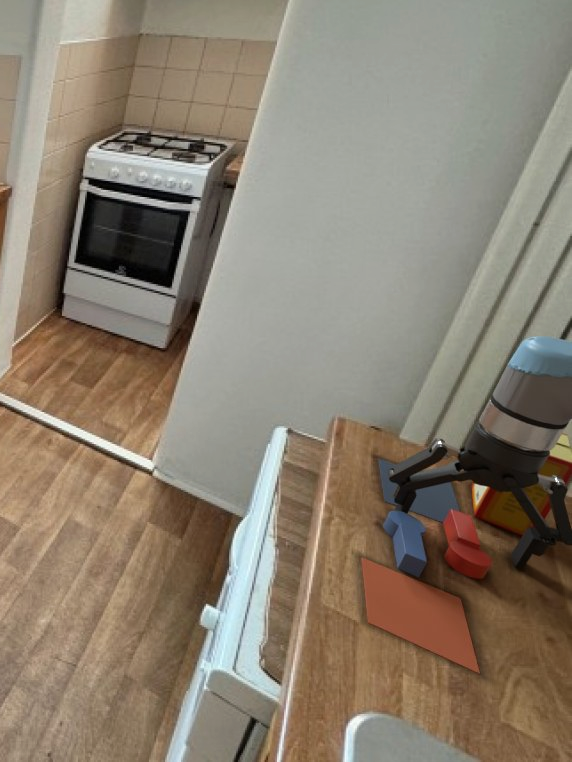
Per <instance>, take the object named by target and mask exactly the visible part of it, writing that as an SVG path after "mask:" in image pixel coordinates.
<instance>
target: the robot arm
mask: <svg viewBox="0 0 572 762" xmlns="http://www.w3.org/2000/svg"><path fill="white" fill-rule="evenodd" d="M478 420H479V422H477V423H476V424H475V426H474V428H473V430H472V431H471V434H470V435H469V437H468V439H467V441H466V443H465V445H464V446H462V447H460V448H458V447H455V446H452V445H450V444H447V443H446V442H445V440H444V439H443V438H439V437H438V438H437V437H436V438H435V439H434V440H433V441H432V442H431V444H430V445H429V446H428V447H427V448H425V449H423V450H421V451H419V452H417V453H415V454H413V455H411V456H410V457H408V458H406V459H404V460H402V461H400V462H397V463H395V464H396V465H394V466H392V467H390V468H389V469H388V476H389V480H390V481H391V482H393V483H396V484H398V486H397V488H396V490H395V492H394V494H393V496H394V501H395V503H397V504H398V505H397V506H395V508H394V511H401V512H404V513H407V514H409V512H410V511H409V509H410V508H411V506H412V504H413V502H414V500H415V498H416V496H417V495H416V491H415V490H418V489H422V488H426V487H431V486H435V485H440V484H444V483H448V482H449V483H453V482H458V483H461V482H462V483H463V482H467V481H471V482H472V483H475V484H478V485H481V486H487V487H490V488H492V489H493V490H495V491H498V492H501V493H502V492H512V494H513V495H514V497H515V499H516V500H517V501H518V502H519V504H520V505H521V507H522V508H523V510H524V511H525V513H526V514H527V516H528V517H529V519H530V521H531V522H532V524H533V525H534V527H535V528H536V529H535V528H533V527H530V526H528V528H527V529H526V531H525V533H524V534H523V536H522V535H521V537H520V539H519V540H518V542H517V544H516V546H515V547H514V549H513V550H512V552H511V554H510V559H511V562H512V564H513V568H514V569H517V570H519V571H523V569H524V568H525V567H526V566H527V563H528V562H529V560H530V559H531V557H532V556H533V555H535V556H537V557H541V556H543V555H544V554H545V553H546V550H547V549H548V548H549V546H550V547H554V546H556V545H557V542H559V543H563V544H564V545H566V546H572V525H571V521H570V517H569V514H568V513H569V512H568V509H567V506H566V503H565V498H566V496H567V493H568V487H567V484H566V485H565V483H564V481H563V479H562V478H561V477H560V476H557V475H552V476H550V477H547V476H543V475H539V474H538V472H539V471H540V470H541V468H542V466H543V465H544V463H545V461H546V460H547V458H548V456H549V455H550V451H549V450H552V449H553V448H554V447H555V445H556V443H557V442H558V440H559V438H560V436H561V435H562V433H563V434H564V431H565V429H566V428H567V427H568V425H569V423H570V421H571V420H572V341H570V340H566V339H562V338H558V337H552V336H546V335H545V336H544V335H543V336H542V335H539V336H538V335H537V336H531V337H528V338H525V339H524V340H522V341H521V343H520V344H519V346H518V347H517V349H516V351H515V352H514V354H513V355H512V357H511V359H510V360H509V362H508V363H507V365H506V367H505V369H504V371H503V373H502V375H501V376H500V379H499V381H498V383H497V385H496V386H495V388H494V391H493V393H492V395H491V397H490V398H489V400H488V402H487V404H486V406H485V408H484V410H483V411H482V413H481V415H480V417H479V419H478ZM451 457H455V458H457V460H455V461H450V462H448V463H447V464H446V465H442V466H438V467H434V468H430V467H432V466H434V465H436V464H437V463H439V462H440V461H442V460H448V459H449V458H451ZM428 468H429V469H428ZM537 483H538V484H540V485H541V486H542V488H543V490H544V491H545V492H547V494H548V497H549V501H550V505H551V509H550V510H551V513H552V517H553V520H554V524H555V527H551V526H549V525H548V523H547V522H546V520H545V519H543V517H542V516H541V514H540V513H539V511H538V510H537V508H536V507H535V505H534V504H533V502H532V501H531V499H530V498H529V496H528V495H527V493H526V491H525V490H524V488H525V487H529V486H533V485H536V484H537Z"/></svg>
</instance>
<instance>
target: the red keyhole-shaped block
mask: <svg viewBox="0 0 572 762" xmlns="http://www.w3.org/2000/svg"><path fill="white" fill-rule="evenodd" d="M442 524H443V528H444V532H445V536H446V541H447V542H448V548H447V549H446V551H445V553H444V555H443V559H444V560H445V563H446V564H448V565H449V567H450V568H452V569H454V570H455V571H457V572H458V573H460V574H462V575H465V577H466V576H467V577H469V578H473V579H478V580H479V579H484V578H485V576H486V574H487V572H488V571H489V569H490V568H491V567H492V564H493V562H492V559H491V557H490V556H489V555H488V554H487V553H485V552H484V551H483V550H482V549H480V548H481V542H480V538H479V536H478V532H477V530H476V527H475V523H474V520H473V516H472V515H470V514H467V513H464V512H461V511H460V512H458V511H456V510H453V509H451V510H450V512H449V513H448V515H447V517H446V519H445V521H444V523H442Z"/></svg>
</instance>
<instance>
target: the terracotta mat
mask: <svg viewBox="0 0 572 762" xmlns="http://www.w3.org/2000/svg"><path fill="white" fill-rule="evenodd" d="M361 567H362V568H361V569H362V578H363V586H364V596H365V608H366V616H367V624H370V625H372V626H374V627H376V628H379V629H380V630H383V631H385V632H386V633H390V635H391V634H392V635H394V636H396V637H398V638H400V639H402V640H404V641H407V642H409V643H411V644H413V645H415V646H416V647H417V646H418V647H420V648H422V649H424V650H425V651H429V652H431V653H433V654H435V655H437V656H439V657H441V658H443V659H446V660H448V661H450V662H453V663H454V664H456V665H458V666H461V667H463V668H465V669H468V670H470V671H472V672H474V673H476V674H479V675H481V671H480V668H479V664H478V660H477V657H476V652H475V648H474V645H473V640H472V636H471V634H470V629H469V626H468V620H467V618H466V614H465V610H464V606H463V603H462V599H461V597H458V596H455V595H454V594H451V593H448V592H446V591H444V590H442V589H439V588H436V587H434V586H432V585H430V584H427V583H424V582H423V581H420V580H418V579H415V578H412V577H410V576H407V575H405V574H403V573H400V572H398V571H396V570H393V569H391V568H389V567H386V566H384V565H381V564H379V563H376V562H374V561H371V560H369V559H367V558H364V557H361Z"/></svg>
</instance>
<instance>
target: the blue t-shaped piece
mask: <svg viewBox="0 0 572 762" xmlns="http://www.w3.org/2000/svg"><path fill="white" fill-rule="evenodd" d="M382 527H383V529H384V531H385V532H386V533H387V534H388V535H389V536H390V537H391V538H392V543H393V548H394V549H393V550H394V555H395V561H396V566H397V567H396V568H397V569H398V570H400V571H403V572H405V573H407V574H410V575H411V576H414V577H417V578H420V576H421V574H422V572H423V570H424V569H425V566H426V565H427V563H428V561H427V555H426V552H425V547H424V542H423V537H424V536H425V535H424V534H425V533H426V531H427V529H426V526H425V524H424V523H423V522H422V521H421V520H419V519H418V518H416V517H415V516H413V515H412V514H409V513H404V512H401V511H395V510H391V511H389V512H388V514H387V516H386V518H385V520H384V522H383V524H382Z"/></svg>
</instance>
